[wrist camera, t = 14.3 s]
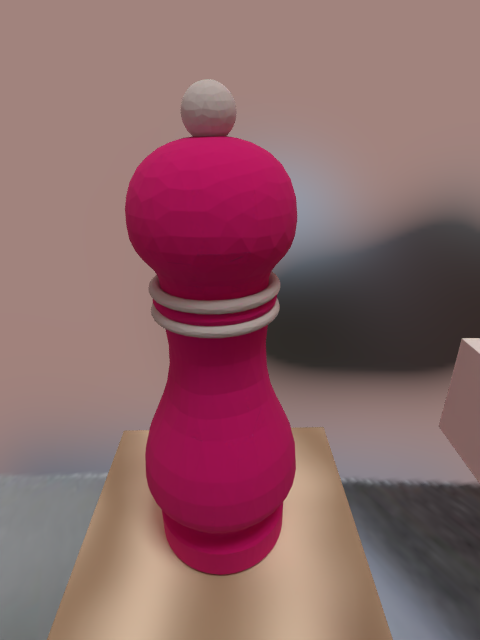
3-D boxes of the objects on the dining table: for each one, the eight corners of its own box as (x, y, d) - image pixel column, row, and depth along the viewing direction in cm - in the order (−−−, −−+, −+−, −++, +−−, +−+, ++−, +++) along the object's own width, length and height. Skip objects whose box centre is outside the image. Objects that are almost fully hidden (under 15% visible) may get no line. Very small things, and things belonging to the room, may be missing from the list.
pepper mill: (175, 617, 16) (95, 50, 8) (142, 488, 22) (77, 87, 14) (318, 550, 19) (380, 69, 10) (255, 450, 25) (260, 93, 16)
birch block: (317, 479, 29) (323, 427, 27) (384, 736, 17) (404, 676, 15) (132, 483, 29) (124, 430, 27) (56, 747, 16) (29, 687, 14)
